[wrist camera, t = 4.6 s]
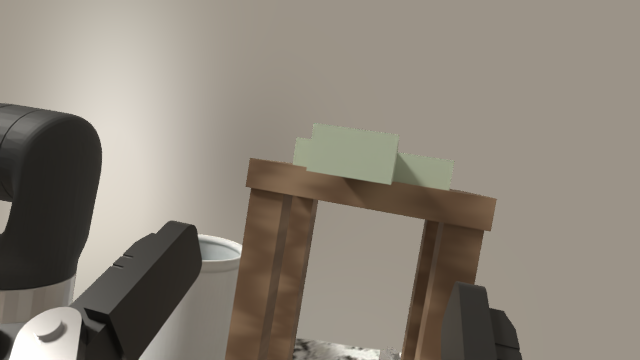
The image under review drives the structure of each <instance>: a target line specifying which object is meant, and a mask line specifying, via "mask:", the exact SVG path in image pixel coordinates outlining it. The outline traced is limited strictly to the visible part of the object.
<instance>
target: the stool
mask: <svg viewBox="0 0 640 360" xmlns="http://www.w3.org/2000/svg"><path fill="white" fill-rule="evenodd" d="M306 169H307V167H304V166H298V165H293V163H286V162H277V161H270V160H262V159H254V158H250V162H249V169H248V175H247V182H246V187H250V188H251V193H250V199H249V206H248V212H247V219H246V225H245V232H244V238H243V245H242V251H241V257H240V264H239V270H238V277H237V283H236V290H235V296H234V303H233V309H232V316H231V322H230V328H229V335H228V341H227V348H226V354H225V360H292V358H293V352H294V346H295V339H296V333H297V327H298V321H299V315H300V309H301V302H302V296H303V289H304V284H305V278H306V272H307V266H308V259H309V253H310V247H311V241H312V235H313V229H314V222H315V217H316V210H317V204H318V200H322V201H327V202H332V203H338V204H344V205H349V206H354V207H360V208H365V209H371V210H376V211H382V212H387V213H393V214H398V215H404V216H409V217H415V218H420V219H425V223H424V229H423V234H422V240H421V246H420V252H419V258H418V263H417V269H416V274H415V280H414V286H413V291H412V297H411V303H410V308H409V314H408V320H407V326H406V331H405V338H404V343H403V348H402V354H401V360H441V327H442V321H443V317H444V313H445V310H446V307H447V304H448V301H449V298H450V295H451V292H452V289H453V286H454V284H455V282H456V281H459V282H464V283H468V284H473V285H474V282H475V278H476V272H477V267H478V261H479V255H480V250H481V245H482V239H483V234H484V230H486V231H491V227H492V221H493V216H494V210H495V205H496V199H495V198H490V197H486V196H481V195H477V194H473V193H468V192H464V191H459V190H452V189H449V190H443V189H437V188H431V187H425V186H419V185H413V184H407V183H400V182H394V181H393V182H392V183H391V185H389V184H383V183H377V182H371V181H365V180H359V179H353V178H347V177H341V176H335V175H329V174H323V173H317V172H311V171H306Z"/></svg>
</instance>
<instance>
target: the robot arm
mask: <svg viewBox="0 0 640 360" xmlns="http://www.w3.org/2000/svg"><path fill="white" fill-rule="evenodd" d="M101 165H102V148H101V143H100V139H99V136H98V134H97V132H96V130H95V129H94V127H93V126H92V125H91V124H90V123H89V122H88V121H86V120H85V119H83V118H81V117H79V116H76V115H72V114H68V113H62V112H57V111H51V110H45V109H39V108H33V107H26V106H20V105H13V104H2V103H0V200H2V201H8V202H12V206H11V211H10V215H9V219H8V222H7V226H6V228H5V231H4V232H3V233H2V234H0V360H139V358H140V357H141V355H142V354H143V353H144V351H145V350H146V348H147V347H148V346H149V344H150V343H151V342H152V340H153V339H154V337H155V336H156V335H157V333H158V332H159V331H160V329H161V328H162V326H163V325H164V324H165V322H166V321H167V319H168V318H169V317H170V315H171V314H172V313H173V311H174V310H175V308H176V307H177V306H178V304H179V303H180V301H181V300H182V299H183V297H184V296H185V295H186V293H187V292H188V290H189V289H190V288H191V286H192V285H193V284H194V282H195V281H196V279H197V278H198V276H199V274H200V271H201V267H202V256H201V250H200V245H199V239H198V233H197V229H196V227H195V226H194V225H191V224H186V223H182V222H177V221H169V222H167V223H166V224H165V225H164V226H163V227H162V228H161V229H160V230H159V231H158V232H157V233H156V234H154V233H151V234H149V235H147V236H145V237H144V238H142V239H140V240H138V241H137V242H135V243H134V244H133V245H132V246H131V247H130V248H129V249H128V250H127V251H126V252H125V253H124V254H123V256H122V257H120V258H119V259H118V260H117V261H115V262H114V263H113V266H112V267H111V266H110V267H109V268H108V269H107V270H106V271H105V272H104V273H103V274H102V275H101V276H100V277H99V278H98V279H97V280H96V281H95V282H94V283H93V284H92V285H91V286H90V287H89V288H88V289H87V290H86V291H85V292H84V293H83V294H82V295H80V296H79V298H77V299H76V300H75V301H74V302H73V303H72V301H73V300H72V299H73V292H74V286H75V278H76V270H77V263H78V259H79V257H80V254H81V252H82V250H83V248H84V246H85V243H86V241H87V238H88V235H89V230H90V225H91V219H92V214H93V209H94V204H95V199H96V194H97V190H98V185H99V179H100V173H101ZM519 350H520V348H519V343H518V338H517V334H516V329H515V328H514V326H513V325H512V323H511V322H510V320H509V319H508V317H507V316H506V314H505V313H504V311H501V310H496V309H492V308H489V304H488V298H487V292H486V289H485V287H483V286H478V285H473V284H468V283H464V282H459V281H456V282H455V284H454V286H453V289H452V292H451V295H450V298H449V301H448V304H447V307H446V310H445V313H444V317H443V321H442V327H441V360H522V356H521V353H520V352H519Z"/></svg>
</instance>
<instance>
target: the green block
mask: <svg viewBox="0 0 640 360" xmlns="http://www.w3.org/2000/svg"><path fill="white" fill-rule="evenodd" d="M398 142H399V135H395V134H388V133H381V132H374V131H366V130H360V129H353V128H345V127H339V126H331V125H324V124H317V123H314V126H313V132H312V138H311V139H304V138H297V140H296V146H295V153H294V159H293V165H298V166H304V167H307V169H306V171H311V172H317V173H323V174H329V175H335V176H341V177H347V178H353V179H359V180H365V181H371V182H377V183H383V184H389V185H391V183H392V182H393V181H394V182H400V183H407V184H413V185H419V186H425V187H431V188H437V189H443V190H449V188H450V182H451V177H452V170H453V165H454V161H450V160H443V159H437V158H431V157H424V156H418V155H411V154H404V153H398Z"/></svg>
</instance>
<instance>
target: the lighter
mask: <svg viewBox="0 0 640 360" xmlns="http://www.w3.org/2000/svg"><path fill="white" fill-rule="evenodd" d="M379 360H401V359H400V358H399V352H398V351H397V350H395V349H394V348H393V347H391V348H390V347H388V348H387V349H383V350H380V355H379Z"/></svg>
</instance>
